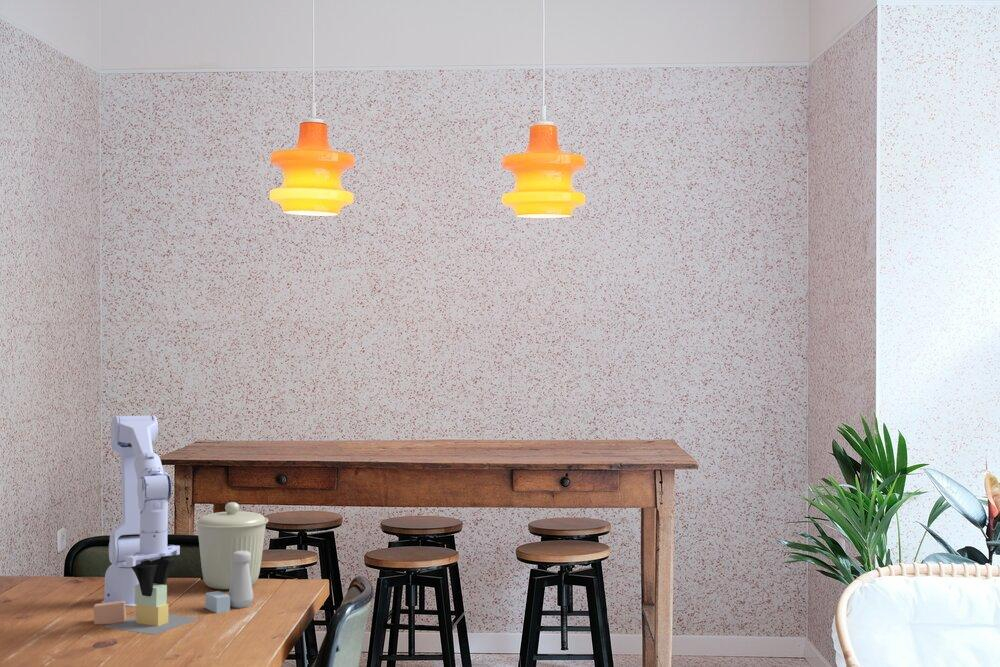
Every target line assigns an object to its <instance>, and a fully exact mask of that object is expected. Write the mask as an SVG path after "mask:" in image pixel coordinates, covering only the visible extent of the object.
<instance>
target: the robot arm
mask: <svg viewBox="0 0 1000 667" xmlns="http://www.w3.org/2000/svg"><path fill="white" fill-rule="evenodd" d="M158 422H159V421H158V418H157V417H156V416H155V414H150V415H147V414H146V415H143V414H141V415H114V416H113V417H112V419H111V422H110V446H111V450H112V452H115V453H117V454H118V455H119V459H120V476H121V477H120V481H121V484H120V486H121V487H120V488H121V523H120V524H119V525H117V526H116V527H115V528H114V529H112V530H111V532H110V534H109V543H108V558H109V562H110V563H111V564H110V565H109V566H108V567H107V569H106V571H105V573H104V596H103V597H104V600H102V601H101V603H108V602H116V601H125V607H127V606H128V607H134V606H136V604H135V585H138V584H139V585H140V589H141V593H142V596H151V595H152V590H153V583H154V584H162V585H167V580H168V577H169V574H170V572H171V570H172V568H173V566H174V565H175V563H176V558H175V557H171V556H178V555H181V554H180V552H181V551H180V550H181V546H180V545H175V544H171V545H168V532H169V531H168V529H169V528H168V527H169V526H168V525H169V501H171V498H172V492H173V486H172V479H171V475H170V473H167V472H166V471H165V470H164V467H163V465H162V460H161V457H160V456H159V455H158V454H157V453H155V452H154V449H153V448H154V447H153V446H154V443H155V442H156V439H157V437H158V433H159V432H158V431H159V423H158ZM128 535H129V536H128ZM130 535H135V536H130ZM122 536H123V537H122Z"/></svg>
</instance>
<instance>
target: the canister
mask: <svg viewBox="0 0 1000 667" xmlns="http://www.w3.org/2000/svg"><path fill="white" fill-rule="evenodd" d="M224 509H225V511H219V512H213V513H212V512H211V513H207V514H205V515H203V516H201V517H200V518H198V519H197V520H195V521H194V524H195V526H196V527H197V534H198V537H197V538H198V543H199V544H198V545H199V556H200V564H201V573H202V574H201V575H202V578H203V582H204V583H205V585H206V586H207V587H209V588H211V589H215V590H223V591H224V590H229V589H230V584H231V579H232V574H233V568H234V563H235V562H233V561H232V554H233V553H234V552H236V551H249V552H250V553H251V560H250V561H249V562H248V564H249V570H250V577H251V583H252V586H253V585H254V584H255V583H257V581H258V579H259V576H260V572H261V565H262V559H263V558H262V557H263V553H264V552H263V551H264V542H265V534H266V525H267V524H268V523H269V518H268V517H265V516H264V515H263V514H262V513H259V512H253V511H243V510H242V511H240V505H239V503H237V502H234V501H230V502H227V503H226V504H225V506H224Z"/></svg>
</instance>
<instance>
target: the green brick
mask: <svg viewBox="0 0 1000 667" xmlns="http://www.w3.org/2000/svg"><path fill="white" fill-rule="evenodd" d="M167 601H168V584H165V585H162V584H154V583H153V590H152V595H151V596H142V593H141V589H140V585H139V584H138V585H135V604H138V605H145V606H152V607H158V606H161V605H164V604H168V602H167Z"/></svg>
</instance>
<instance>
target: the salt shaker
mask: <svg viewBox="0 0 1000 667" xmlns="http://www.w3.org/2000/svg"><path fill="white" fill-rule="evenodd" d="M250 560H251V553H250V552H249V551H236V552H234V553H233V554H232V561H233V562H235V563H234V568H233V574H232V579H231V584H230V589H229V591H228V594H227V595H229V596H230V608H234V609H235V608H236V609H244V608H250V607H251V605H252V602H253V601H254V590H253V585H252V583H251V577H250V570H249V564H248V562H249V561H250ZM249 606H250V607H249Z"/></svg>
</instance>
